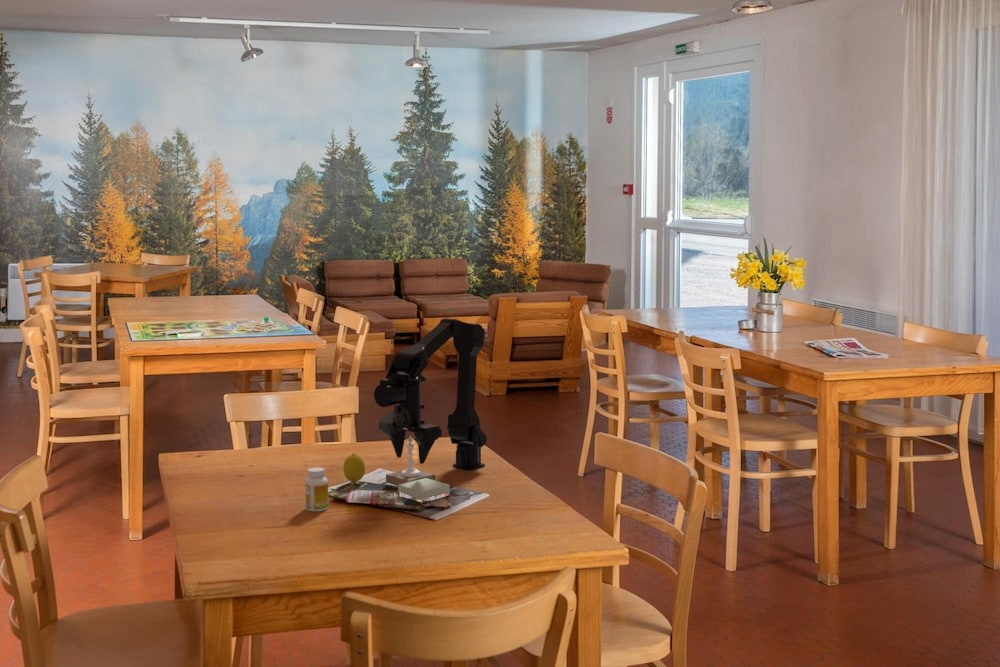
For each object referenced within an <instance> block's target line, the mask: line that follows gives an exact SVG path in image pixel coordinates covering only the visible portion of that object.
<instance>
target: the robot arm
mask: <svg viewBox="0 0 1000 667" xmlns="http://www.w3.org/2000/svg"><path fill="white" fill-rule="evenodd" d="M485 335H486V332H485V328H483V326H482V325H481V324H480V323H474V322H473V323H471V322H465V321H462V320H460V319H457V318H450V317H444V318H442V319H441V320H440V321H439V323H438V324H437V325H435V326H434V327H433V328H432V329H431V330H430V331H429V332H428V333H427V334H425V336H423V337H422V338H421V339H420V340H419V341H418V342H417V343H415V344H413V345H411V346H407V347H405V348H403V349H401V350H400V351H398V352H396V353H395V355H394V357H393V360H392V362H391V365H390V367H389V369H388V371H387V373H386V375H385V378H382V379H380V380H379V384H378V385H377V386H376V387H375V389H374V392H373V398H374V401H375V402H376V404H377V405H378V406H379V407H382V408H385V407H390V406H393V412H390V413H388V414H386V415H385V416H383V417H381V418H380V419H379V420H378V426H379V427H378V428H379V430H380V431H382V433H383V434H384V435H386V436H388V438H389V439H390V441H391V444H392V446H393V447H392V448H393V450H394V452H395V455H396V457H397V458H402V455H403V451H404V445H405V440H406V433H407V432H410V433H414V434H413V435H414V437H415V438H413V439H414V440H413V441H415V443H416V444H417V446H418V447H417V449H418V460H419V464H421V465H423V464H425V462H426V460H427V457H428V455H429V453H430V451H431V449H432V447H433V445H434V443H435V442H436V441H438V439H439V438H441V437H442V432H443V431H442V430H443V429H442V427H441V426H439V425H438V424H437V425H436V424H432V423H428V424H425V419H422V409H425V403H424V404H423V403H421V402H422V399H421V397H422V395H421V390H422V389H421V383H422V382H426V381H427V378H426V377H425V376H424V375H423V372H424V370H426V368H427V367H428V365H429V359H430V358H431V357H432V356H433V355H434V354H435V353H436V352H438V350H439V349H441V348H442V347H443V345H445V344H446V343H448V341H449V340H450V339H452V341H453V342H452V343H453V347H454V349H455V350H456V353H457V356H458V358H457V360H458V361H457V378H456V379H457V381H456V382H457V383H456V403H455V409H454V410H453V412H452V413H450V414H448V416H447V426H446V429H447V432H448V435H449V439H450V443H451V445H453V444H454V445H456V451H455V463H452V466H453V467H456V468H460V469H463V470H466V471H467V470H468V471H469V470H473V469H476V468H481V467H485V466H486V463H482V448H484V446H486V445H487V440H488V437H487V435H486V434H485V433H484V431H483V430H482V428H481V425H480V424H481V423H480V421H481V420H480V418H479V415H478V413H477V412H476V409H475V404H476V403H475V401H476V383H477V382H476V379H477V378H476V377H477V361H478V360H477V359H478V355H479V353H480V352H481V351H482V349H483V348H484V342H485Z"/></svg>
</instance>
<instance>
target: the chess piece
mask: <svg viewBox="0 0 1000 667" xmlns="http://www.w3.org/2000/svg"><path fill="white" fill-rule="evenodd" d="M414 439H415V438H412V435H411V436H410V435H409V438H406V442H407V443H406V447H407V452H406V453H405V454H407V455H408V457H407V458H408V460H407V465H406V466H407V467H406V469H402V470H401V471H402V472H401V473H402V474H401V475H402V476H405V477H415V476H419V475H420V471H419V470H420V469H418V470H417V468H416V467H415V466H414V459H413V458H414V457H413V455H415V454H416V453H415V452H414V451H413V450H414V447H415V443H414V442H412V441H415V440H414Z"/></svg>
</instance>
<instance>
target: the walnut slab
mask: <svg viewBox="0 0 1000 667" xmlns="http://www.w3.org/2000/svg"><path fill="white" fill-rule="evenodd" d="M416 469H417V468H416ZM417 470H419V471H420V475H419V476H415V477H405V476H402V475H401V474H402V473H401V472H402V471H403V470H399V471H395V472H390V473H386V474H385V483H386V482H388V483H391V484H394V485H397V486H398V485H399V484H403V483H407V482H412V481H416V480H420V479H424V478H428V479H431V480H435V481H436V474H435V473H431V472H428V471H424V470H421V469H417Z"/></svg>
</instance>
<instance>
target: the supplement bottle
mask: <svg viewBox="0 0 1000 667" xmlns="http://www.w3.org/2000/svg"><path fill="white" fill-rule="evenodd" d="M325 472H326V470H325V468H323V467H311V468H308V469H307V476H308V477H307V478H306V479H305V481H304V483H305V484H304V487H305V488H304V490H305V509H306V511H308V512H311V513H312V512H314V513H315V512H316V513H317V512H324V511H326V510H328V509H329V480H328V478H327V477H326V476H325V474H326V473H325Z"/></svg>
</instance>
